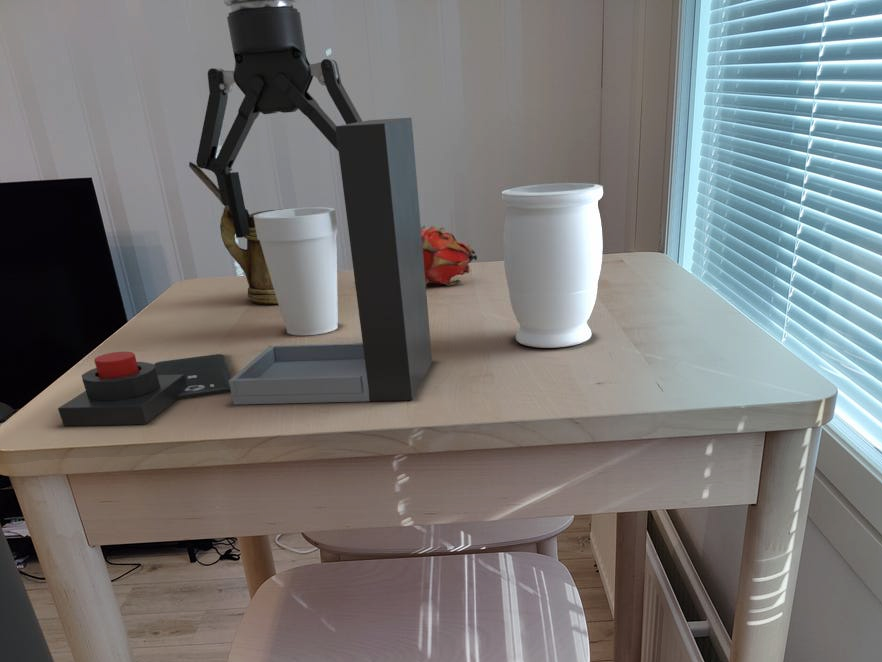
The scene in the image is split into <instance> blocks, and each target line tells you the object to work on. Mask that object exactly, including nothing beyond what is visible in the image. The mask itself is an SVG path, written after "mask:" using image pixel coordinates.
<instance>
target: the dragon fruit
mask: <svg viewBox="0 0 882 662" xmlns="http://www.w3.org/2000/svg"><path fill="white" fill-rule="evenodd" d="M425 228H426V225H425V224H424V225H421V235H422V247H423V259H424V271H425V283H426V285H427V284H428V283H433V284H442V285H445V286H448V287H449V286H454V285H457V284H459V283H462V281H461V280H460V279H456V280H452V281H451V279H452V278H454V277H455V276H459V275H460V276H463V275H466V274H469V273H470V265H469V264H470V263H471V262H472V261H473V260H475V261H477V260H478V256H477V254H476V251H475V250H474V248H473V247H472V246H471V245H469V244H466V243H464V242H459V241H458V240H457V238H456V236H455V234H453V233H450V232H445V231H446V230H445V229H446V228H445V227H440V228H437V227H435V226H433V225H431V226H430V227H429V228H428V229H425Z"/></svg>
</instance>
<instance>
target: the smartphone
mask: <svg viewBox="0 0 882 662" xmlns="http://www.w3.org/2000/svg"><path fill="white" fill-rule="evenodd" d="M153 364H154V366H155V369H156V373H157V375H181V374H184V376H185V380H186V384H187V388H186V389H185V390H184V391H183V392H182V393H180V394H179V395H178V400H177V401H180V400H186V399H193V398H200V397H201V398H202V397H207V396H214V395H215V396H216V395H221V394H228V393H231V390H230V385H229V380H230V379H231V378H232V375H231V372H230V369H229V366H228V363H227V360H226V358H225V355H224V354H221V353H218V354H217V353H216V354H209V355H200V356H194V357H185V358H177V359H170V360H169V359H168V360H162V361H157V362H155V363H153Z"/></svg>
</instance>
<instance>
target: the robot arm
mask: <svg viewBox="0 0 882 662" xmlns="http://www.w3.org/2000/svg"><path fill="white" fill-rule="evenodd" d="M296 2H297V0H223V3H224V5H225V6H226V7H230V10H231V11H230V12H228V16H227V17H226V20H227V26H228V31H229V37H230V42H231V47H232V53H233V57H234V69H233V70H225V69H223V68H218V67H217V68H216V67H215V68H212V67H211V68H209V69H208V71H207V81H208V90H209V94H208V100H207V104H206V110H205V115H204V119H203V123H202V128H201V129H202V131H201V134H200V139H199V146H198V151H197V156H196V162H195V163H196V165H197V166H198V167H199V168H200V169H201V170H203V169H205V170H208V171H211V172H212V173H213V174H214V175H215V177H216V181H217V186H218V187H217V188H218V189H219V192H220V197H221V201H222V203H223V204H222V203H221V204H222V206H224V205H230V208H231V213H232V218H233V223H234V228H235V233H236V234H235V239H236V238H237V239H239V238H244V237H245V236H247V235H249V234H250V231H249V225H248V220H247V215H246V210H245V209H246V205H245V200H244V194H243V190H242V189H243V188H242V185H241V180H240V175H239V174H240V173H239V171H236V172H235V171H233V168H232V167H233V165H234V163H235V161H236V160H237V157H238V155H239V153H240V150H241V149H242V147H243V145H244V143H245V141H246V139H247V137H248V135H249V133H250V131H251V130H252V127H253V125H254V123H255V122H256V120H257V118H258V117H259V115H260V113H261V114H262V115H271V114H277V113H279V112H280V113H283V114H285V113H294V112H297V111H298V110H299V111H300V113H302V114H303V115H304V116H305V117H307V118H308V120H309V121H310V122H311V123H312V124H313V125H314V126H315V128H317V129H318V130H319V132H320V133H321V134H322V135H323V136H324V137H325V138H326V140H327V141H329V143H330V144H331V145H332V146H333V147H334V148H335V149H336V151H337V152H338V153H339V151H338V143H337V135H336V126H337V124H336V123H335V122H334V121H333V120H332V119H331V118H330V116H329V115H328V114H327V113H326V112H325V111H324V110H323V109H322V108H321V106H320V104H319V103H318V101H317V100H316V99H315V98H314V97H313V95H311V94H310V92H309V91H308V90H309V88H310V85H311V84H312V81H313V79H314V77H315V78H316V79H317V81H318V83H319V84H320V85H322V86H325V87H326V90H327V92H328V94H329V96H330V98H331V100H332V102H333V103H334V105H335V107H336V109H337V111H338V112H339V114H340V116H341V118H342V120H343V121H344V123H345V125H346V124H351V123H357V122H362V121H363V119H362V118H361V116H360V114H359V112H358V110H357V108H356V107H355V105H354V103H353V101H352V99H351V98H350V96H349V94H348V92H347V90H346V88H345V87H344V85H343V84H342V83H343V82H342V80H341V75H340V72H339V70H340V69H339V66H338V63H337V62H336V60H334V59H331V58H324V59H322V61H321V62H316V63H310V62H309V60H308V57H307V54H306V52H307V51H306V45H305V37H304V31H303V25H302V17H301V12H300V11H299V9H298V8H296V7H294V3H296ZM234 84H236V87H238V89H239V90H240V91H241V92H242V94H243V95H244V97H243V99H242V101H241V103H240V106H239V108H238V110H237V115H236V117H235V119H234V121H233V123H232V124H231V127H230V129H229V131H228V133H227V136H226V137H225V140H224V142H223V144H222V145H221V148H220V150H219V151H218V148H219V143H220V138H221V133H222V130H223V129H222V128H223V123H224V118H225V114H226V110H227V104H228V98H229V94H230V93H231V92H232V91H233V87H234ZM217 153H218V155H217ZM231 171H232V172H231Z"/></svg>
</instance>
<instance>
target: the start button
mask: <svg viewBox="0 0 882 662" xmlns="http://www.w3.org/2000/svg"><path fill="white" fill-rule="evenodd" d="M93 361H94V365H95V368H97V372H98V375H99V377H101V378H113V377H120V376H126V375H130V374H133V373H137V372H138V371H139V369H138V365H137V362H138V361H137V358H136V354H135V353H134V352H132V351H114V352H108V353H103V354H101V355H97V356H95V358H94V360H93Z"/></svg>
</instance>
